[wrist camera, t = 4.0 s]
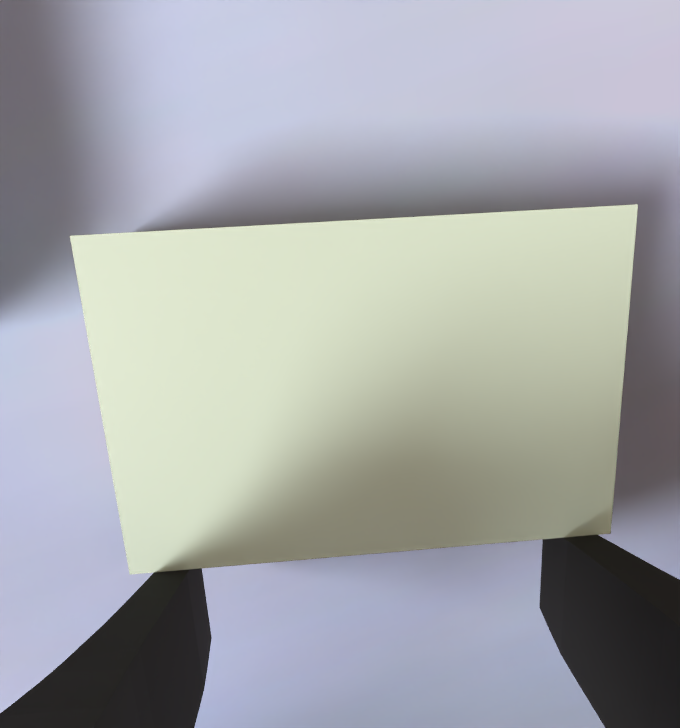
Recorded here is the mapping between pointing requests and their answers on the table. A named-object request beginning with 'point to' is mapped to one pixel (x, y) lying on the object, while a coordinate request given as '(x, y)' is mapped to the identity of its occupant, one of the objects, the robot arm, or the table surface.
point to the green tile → (359, 382)
